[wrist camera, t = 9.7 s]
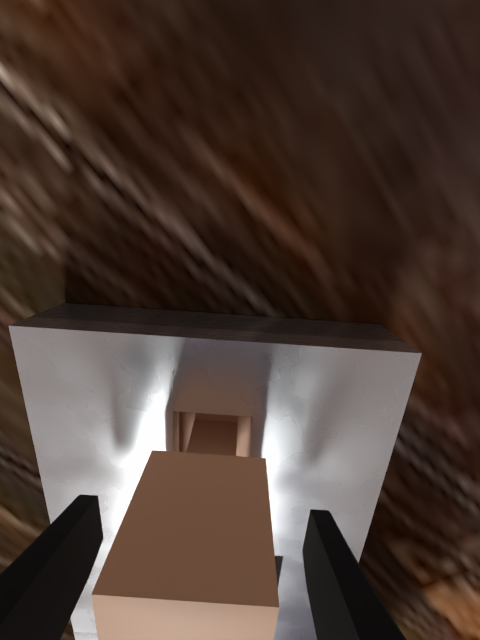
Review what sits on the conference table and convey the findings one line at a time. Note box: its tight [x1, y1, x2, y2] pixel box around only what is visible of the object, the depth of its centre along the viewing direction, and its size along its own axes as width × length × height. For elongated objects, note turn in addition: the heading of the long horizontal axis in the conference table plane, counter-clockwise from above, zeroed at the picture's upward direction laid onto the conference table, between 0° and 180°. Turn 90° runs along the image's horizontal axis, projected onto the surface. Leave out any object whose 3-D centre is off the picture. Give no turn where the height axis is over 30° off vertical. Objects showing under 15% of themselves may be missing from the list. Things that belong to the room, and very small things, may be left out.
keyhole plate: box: [9, 303, 422, 640], centre depth 14 cm, size 20×14×3 cm
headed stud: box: [91, 412, 279, 640], centre depth 10 cm, size 5×5×8 cm
